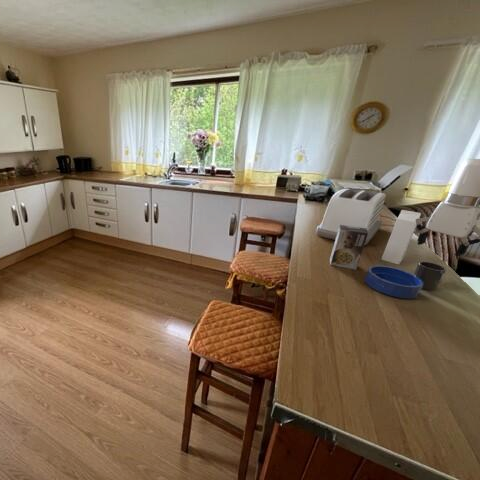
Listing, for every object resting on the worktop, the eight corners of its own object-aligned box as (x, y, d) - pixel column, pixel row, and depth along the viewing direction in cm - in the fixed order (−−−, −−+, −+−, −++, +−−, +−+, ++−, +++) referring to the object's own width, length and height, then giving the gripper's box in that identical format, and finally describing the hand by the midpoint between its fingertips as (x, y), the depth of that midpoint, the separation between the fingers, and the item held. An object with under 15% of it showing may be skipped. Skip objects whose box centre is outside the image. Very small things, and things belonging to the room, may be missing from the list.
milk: (398, 264, 107) (420, 214, 98) (380, 259, 111) (399, 211, 102) (401, 260, 110) (423, 211, 101) (384, 255, 114) (403, 208, 106)
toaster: (381, 227, 150) (395, 189, 141) (364, 248, 121) (381, 203, 112) (336, 218, 165) (346, 183, 156) (312, 235, 136) (323, 194, 128)
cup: (440, 288, 91) (450, 268, 87) (430, 292, 88) (440, 272, 85) (416, 278, 96) (424, 260, 93) (406, 282, 94) (414, 263, 91)
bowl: (426, 293, 87) (432, 281, 85) (403, 304, 82) (409, 291, 80) (378, 273, 99) (382, 262, 98) (355, 281, 94) (359, 270, 92)
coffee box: (354, 264, 107) (367, 228, 101) (356, 270, 102) (369, 233, 95) (329, 258, 111) (339, 224, 105) (329, 264, 106) (340, 228, 100)
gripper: (510, 206, 74) (480, 258, 81) (432, 193, 89) (412, 238, 95) (500, 208, 71) (469, 262, 78) (421, 195, 86) (401, 241, 92)
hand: (438, 249), depth 87 cm, fingers open, 9 cm apart
